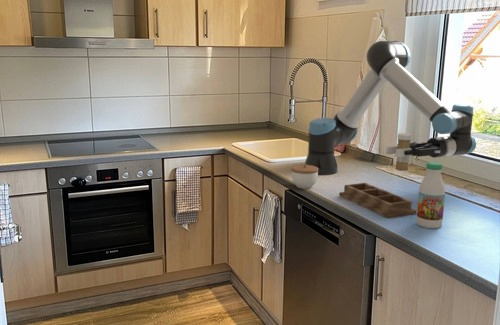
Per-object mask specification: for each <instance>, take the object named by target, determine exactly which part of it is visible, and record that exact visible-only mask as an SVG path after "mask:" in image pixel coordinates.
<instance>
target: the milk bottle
mask: <svg viewBox="0 0 500 325" xmlns="http://www.w3.org/2000/svg"><path fill="white" fill-rule="evenodd" d="M425 167H426V169H425V170H426V172H425V176H424V177H423V179H422V181H421V183H420V184H419V185H420V186H419V188H418V198H417V208H416V210H417V213H416V219H415V221H416V222H415V223H416V224H417V226H419V227H422V228H424V229H425V228H426V229H439V228H441V227H442V225H443V218H444V209H445V208H444V207H445V199H446V197H445V196H446V187H445V184H444V182H443V177H442V172H443V164H442V163H440V162H437V161H429V162H428V161H427V162H426V166H425Z"/></svg>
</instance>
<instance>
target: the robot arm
mask: <svg viewBox="0 0 500 325" xmlns="http://www.w3.org/2000/svg"><path fill="white" fill-rule="evenodd" d="M410 61H411V51H410V48H409V47H408V45H407V44H406V43H404V42H402V41H398V40H392V41H390V40H379V41H376V42H374V43H373V44H371V45H370V46H369V48H368V50H367V53H366V62H367V65H368V66H369V68H370V69H369V71H368V73H367V74H366V75H365V76H364V78H363V80H362V81H361V82H360V84H359V85H358V87H357V88H356V90H355V91H354V93H353V95H352V96H351V97H350V99H349V100H348V101H347V103H346V105H345V107H344V108H343V109H342V110H338V111H337V112H336V114H335V116H334V117H333V118H331V117H319V118H315V119H311V121H310V122H309V125H308V146H307V149H308V151H307V156H306V158H305V162H304V164H306V165H311V166H315V167H318V175H333V174H337V173H338V167H339V166H338V163H337V159H336V155H335V147H336V146H339V145H345V144H348V143H350V142H351V141H352V142H353V140H354V139H355V138H356V137H357V135H358V128H359V127H360V122H359V121H360V119H361V118H362V116H363V115H364V114H365V113H366V111H367V110H368V108H369V107H370V106H371V105H372V103H373V102H374V100H375V98H376V97H377V96H378V94H379V92H380V91H381V89H382V88H383V87H384V86H385V85H386V83H387V82H388V83H389V84H391V85H392V87H394V88H395V89H396V90H397V91H398V92H399V93H400V94H401V95H403V97H404V98H405V99H406V100H408V102H410V103H411V105H413V106H414V107H415V108H416V109H417V110H418V111H419V112H420V113H421V114H422V115H423V116H424V117H425V118H426V119H427V120H429V121H430V123H431V126H432V129H433V130H434V132H435V133H437V134H439V135H448V134H449V135H448V136H438V137H437V136H436V137H431V138H429V139H428V140H427V141H426V142H425V141H422V142H416V141H414V142H410V148H404V149H397V148H398V143H397V144H396V145H391V146H386V149H385V155H394V154H395V155H394V156H395V158H397V157H403V156H409V157H410V156H413V157H418V158H420V157H428V156H429V157H431V158H432V159H433V158H441V157H443V158H447V157H450V156H461V155H462V156H463V155H469V154H471V153H473V152H474V151H475V150H476V148H477V142H476V138H475V137H474V136H473V135H472V134H471V133H472V126H473V125H472V124H473V119H474V106H473V105H471V104H466V103H465V104H464V103H462V104H461V103H459V104H457V103H456V104H453V105H452V107H451V110H450V109H449V108H448V107H447V106H446V105H445V104H444V103H443V102H441V100H440V99H439V98H438V97H436V95H434V94H433V93H432V92H431V91H430V90H428V88H426V87H425V86H424V85H423V84H422V83H421V82H420V81H419V80H418V79H417V78H415V77H414V76H413V74H411V73H410V72H409V71H408V70H407V69H406V67H407V66H408V65H409V63H410Z"/></svg>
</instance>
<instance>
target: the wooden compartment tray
mask: <svg viewBox="0 0 500 325" xmlns="http://www.w3.org/2000/svg"><path fill="white" fill-rule="evenodd" d="M343 188H344V189H343V190H344V191H340V192H339V194H338V196H339V195H340V197H341V198H344V199H346V200H348V201H350V202H352V201H353V202H352V203H354V202H355V204H356V203H357V205H359V206H361V207H363V208H364V209H367V210H369V211H372V212H374V213H376V214H377V215H380V216H382V217H384V218H387V219H391V218H398V217H405V216H409V215H410V216H411V215H417V209H414V208H413V200H410V199H407V198H405V197H402V196H399V195H397V194H395V193H392V192H390V191H388V190H384V189H382V188H379V187H377V186H375V185H372V184H369V183H367V182H361V183H351V184H344V187H343Z"/></svg>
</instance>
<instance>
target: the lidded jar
mask: <svg viewBox="0 0 500 325" xmlns="http://www.w3.org/2000/svg"><path fill="white" fill-rule="evenodd" d="M290 170H291V180H292V182H293V183H294V185H295V186H296V188H298V189H305V190H306V189H312V188H313V186H314V185H315V184H316V183H317V181H318V177H319V174H318V167H315V166H311V165H306V164H305V163H303V164H296V165H293V166H291V169H290Z"/></svg>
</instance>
